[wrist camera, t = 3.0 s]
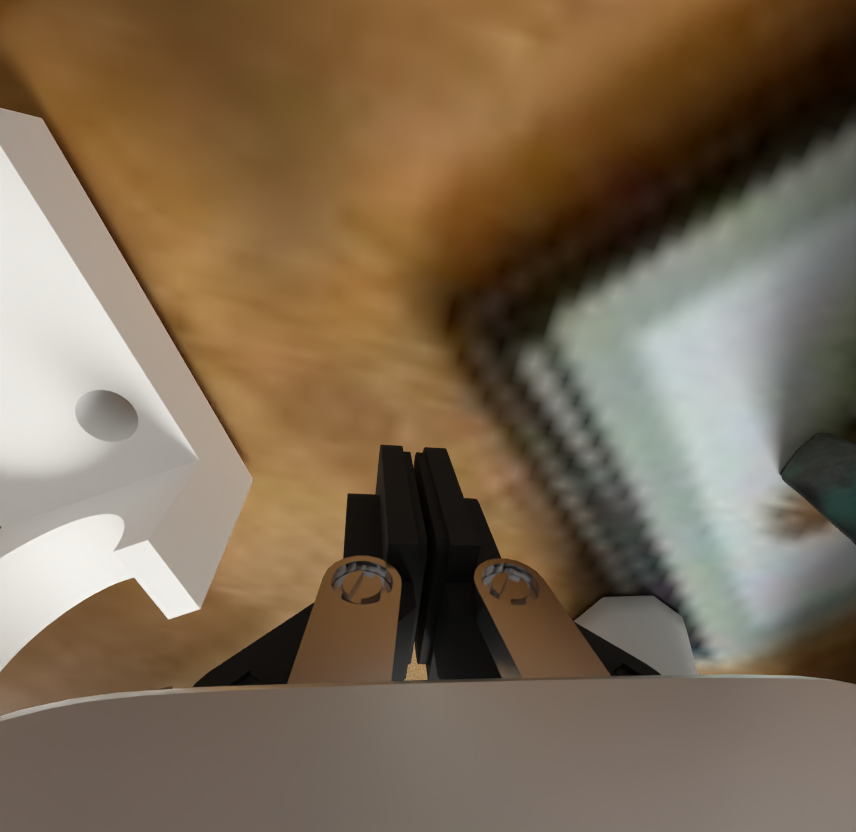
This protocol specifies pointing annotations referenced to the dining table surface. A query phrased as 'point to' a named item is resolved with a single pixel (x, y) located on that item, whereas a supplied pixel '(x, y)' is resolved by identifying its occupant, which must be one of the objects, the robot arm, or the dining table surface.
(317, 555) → the dining table surface
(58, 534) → the bracket
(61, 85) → the dining table surface
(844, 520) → the cat figurine
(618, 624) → the flask
